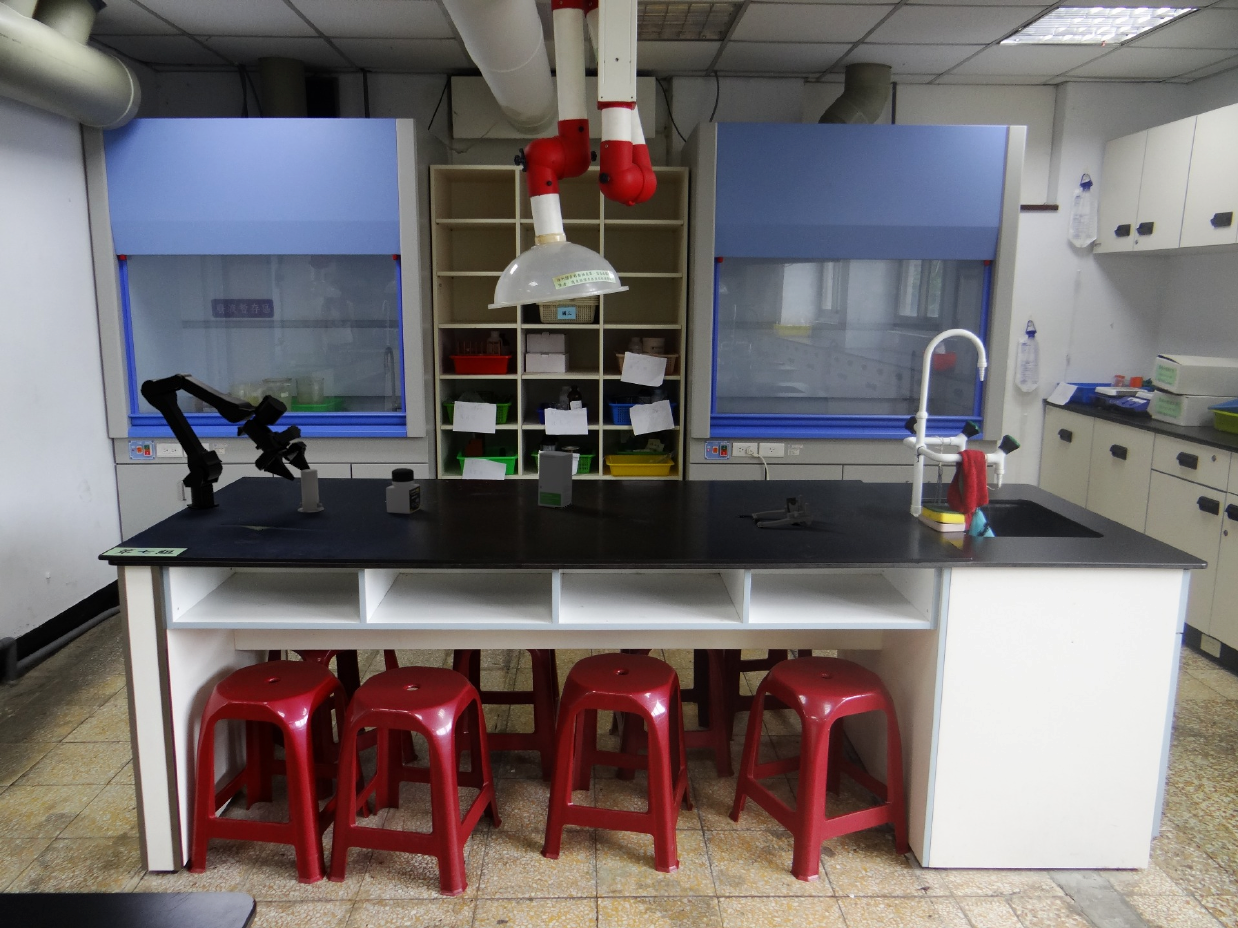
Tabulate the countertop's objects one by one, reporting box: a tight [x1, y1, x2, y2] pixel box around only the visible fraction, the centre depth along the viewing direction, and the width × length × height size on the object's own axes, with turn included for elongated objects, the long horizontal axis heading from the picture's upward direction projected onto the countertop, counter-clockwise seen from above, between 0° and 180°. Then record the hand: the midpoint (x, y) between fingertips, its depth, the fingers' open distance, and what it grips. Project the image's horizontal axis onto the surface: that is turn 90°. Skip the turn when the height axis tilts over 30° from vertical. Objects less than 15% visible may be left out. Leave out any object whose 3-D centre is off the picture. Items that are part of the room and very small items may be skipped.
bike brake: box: [739, 494, 815, 528], centre depth 236 cm, size 14×7×20 cm
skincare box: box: [537, 450, 574, 508], centre depth 254 cm, size 8×7×16 cm
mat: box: [233, 523, 276, 531], centre depth 231 cm, size 12×12×1 cm
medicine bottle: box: [385, 467, 421, 515], centre depth 246 cm, size 7×7×12 cm
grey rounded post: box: [298, 468, 323, 511], centre depth 244 cm, size 6×4×11 cm
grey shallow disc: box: [297, 506, 325, 513], centre depth 245 cm, size 7×7×1 cm
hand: (302, 476), depth 244 cm, fingers open, 9 cm apart
